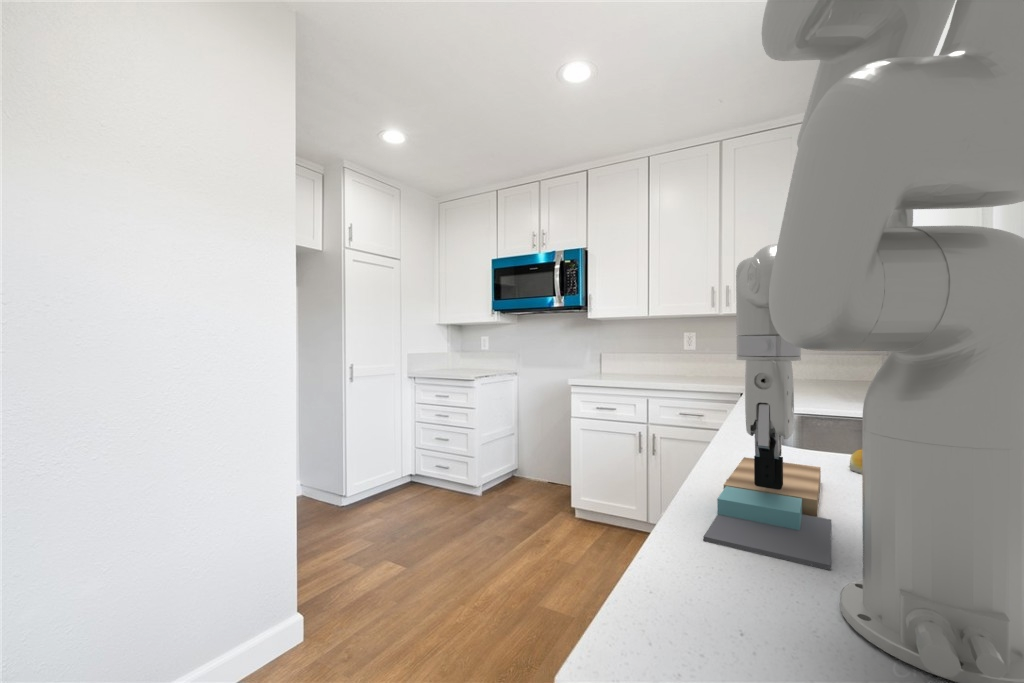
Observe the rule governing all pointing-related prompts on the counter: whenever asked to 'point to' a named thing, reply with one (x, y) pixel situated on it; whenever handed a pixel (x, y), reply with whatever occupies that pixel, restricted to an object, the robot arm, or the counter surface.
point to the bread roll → (856, 461)
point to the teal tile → (760, 507)
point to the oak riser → (795, 483)
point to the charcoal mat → (776, 539)
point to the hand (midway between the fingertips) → (768, 486)
